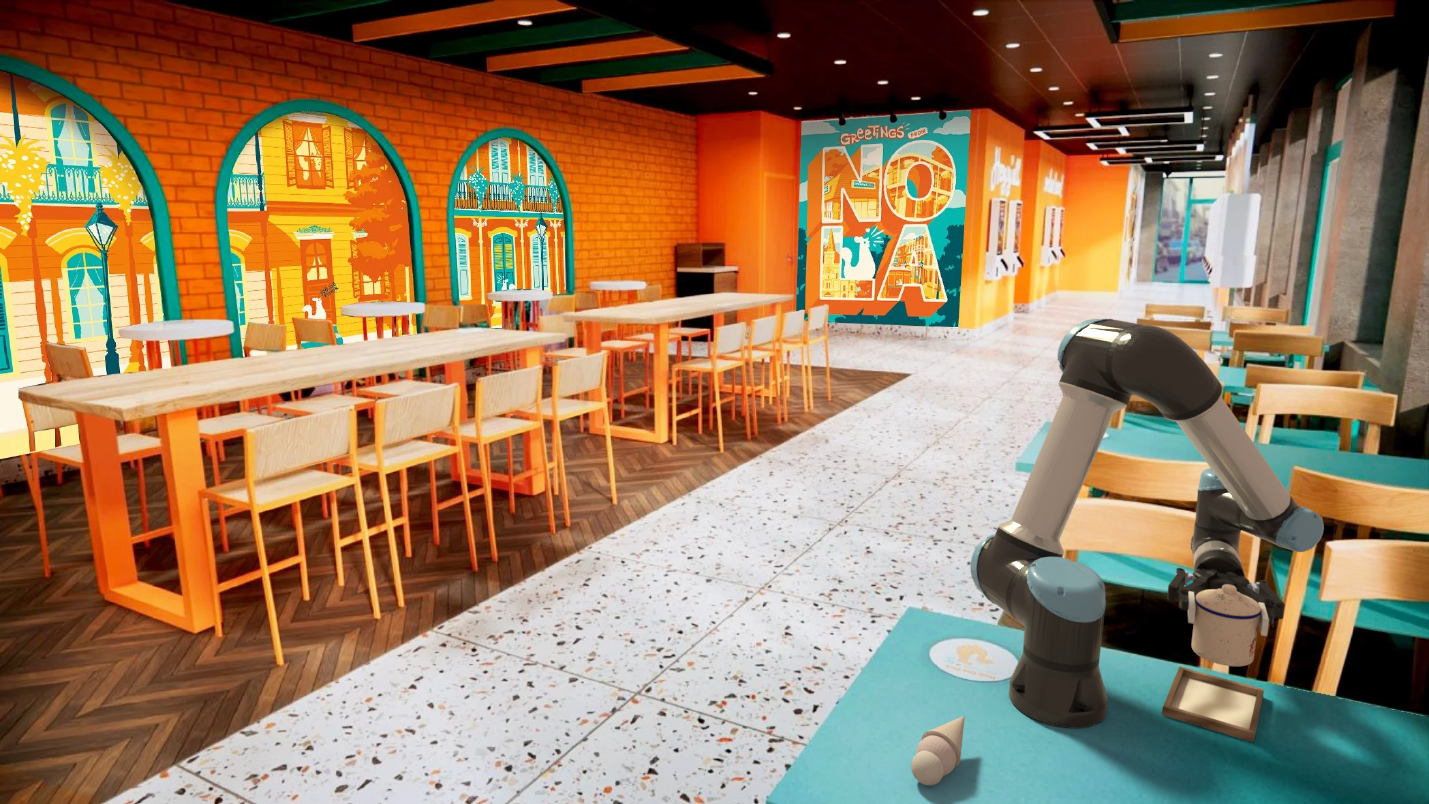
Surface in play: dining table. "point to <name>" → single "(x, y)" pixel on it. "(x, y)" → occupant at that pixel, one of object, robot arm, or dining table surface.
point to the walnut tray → (1214, 703)
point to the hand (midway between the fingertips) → (1227, 621)
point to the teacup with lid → (1225, 626)
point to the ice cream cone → (938, 752)
